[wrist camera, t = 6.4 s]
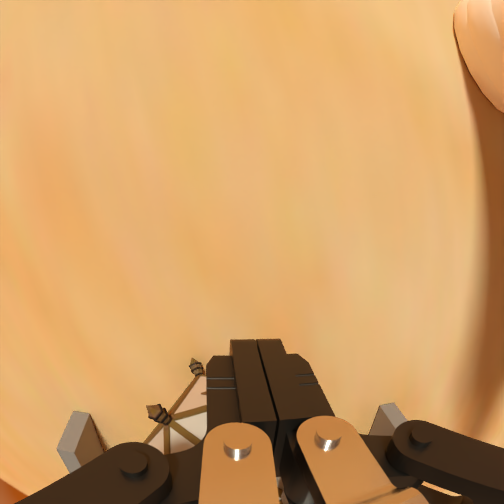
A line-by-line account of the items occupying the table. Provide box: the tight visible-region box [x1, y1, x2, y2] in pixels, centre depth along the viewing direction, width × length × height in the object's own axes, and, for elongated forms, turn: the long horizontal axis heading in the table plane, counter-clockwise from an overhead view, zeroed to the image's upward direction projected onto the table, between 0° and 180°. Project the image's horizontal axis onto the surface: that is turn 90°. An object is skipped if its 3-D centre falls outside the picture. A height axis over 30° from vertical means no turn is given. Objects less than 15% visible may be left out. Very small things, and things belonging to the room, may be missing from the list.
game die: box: [143, 358, 283, 504], centre depth 10 cm, size 9×8×10 cm
